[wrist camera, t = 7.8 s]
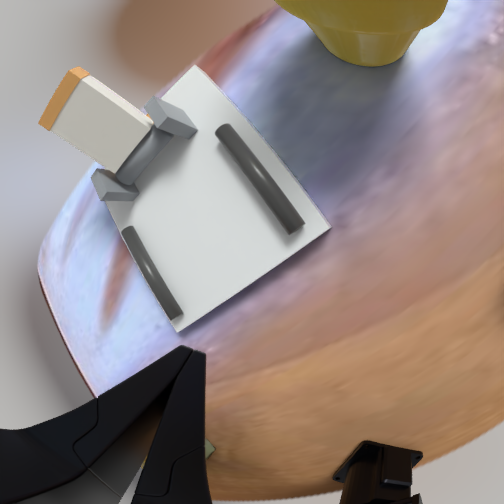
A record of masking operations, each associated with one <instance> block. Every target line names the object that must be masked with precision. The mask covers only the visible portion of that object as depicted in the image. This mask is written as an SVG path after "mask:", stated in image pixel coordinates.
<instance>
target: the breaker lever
mask: <svg viewBox="0 0 504 504" xmlns="http://www.w3.org/2000/svg"><path fill="white" fill-rule="evenodd" d="M39 124H40V125H42V126H43V127H44V128H46V129H47V130H49V131H52V132H53V133H55V134H56V135H58V136H59V137H61V138H62V139H64V140H65V141H67V142H68V143H70V144H71V145H73V146H74V147H75V148H77V149H78V150H80V151H81V152H83V153H85V154H86V155H88V156H89V157H91V158H92V159H93V160H95V161H96V162H98V163H99V164H101V165H102V166H104V167H105V168H107V169H108V170H110V171H111V172H113V173H114V174H115V175H116V177H117V179H118V180H119V181H120V182H122V183H123V184H126V185H132V184H133V183H134V182H135V180H136V179H137V178H138V177H139V175H140V174H141V173H142V172H143V171H144V169H145V168H146V167H147V166H148V165H149V164H150V162H151V161H152V160H153V159H154V158H155V157H156V156H157V154H158V153H159V152H160V151H161V150H162V149H163V148H164V147H165V146H166V145H167V143H168V142H169V141H170V140H171V139H172V138H173V137H174V135H173V134H172V133H169V132H167V131H164V130H161V129H158V128H157V127H156V125H155V124H154V123H153V121H152V120H151V119H150V118H149V117H147V116H146V115H145V114H143V113H142V112H141V111H139V110H138V109H137V108H135V107H134V106H133V105H131V104H130V103H128V102H127V101H126V100H124V99H123V98H121V97H120V96H119V95H118V94H116V93H115V92H113V91H112V90H111V89H109V88H108V87H106V86H105V85H104V84H102V83H101V82H99V81H98V80H97V79H95V78H94V77H92V76H91V75H90V74H89V73H88V72H87V71H85V70H84V69H82V68H81V67H76V68H73V69H71V70H69V71H68V72H67V74H66V75H65V77H64V78H63V80H62V81H61V83H60V85H59V87H58V88H57V90H56V91H55V93H54V95H53V96H52V98H51V100H50V102H49V104H48V105H47V107H46V109H45V111H44V113H43V115H42V117H41V119H40V121H39ZM152 124H153V125H152Z"/></svg>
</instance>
